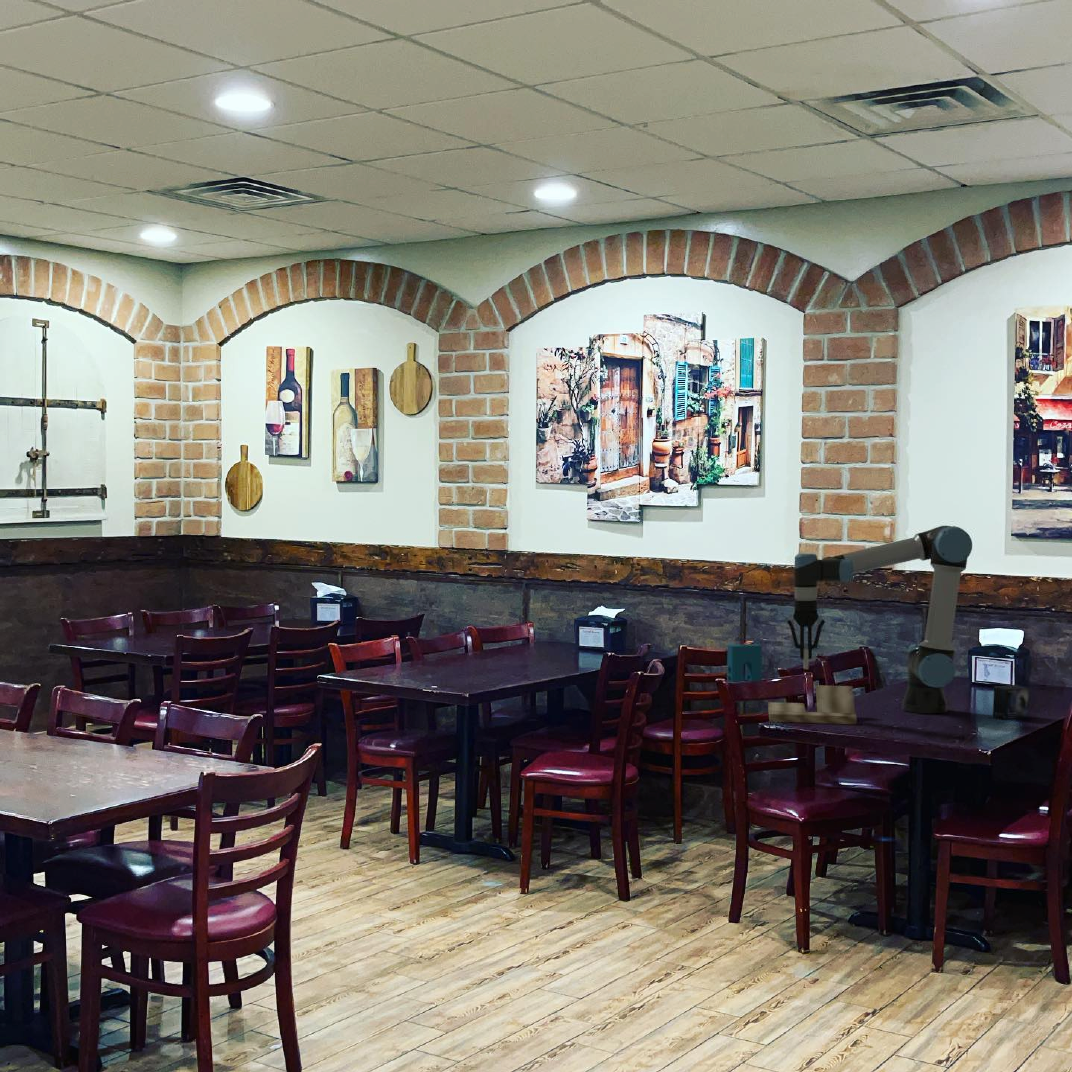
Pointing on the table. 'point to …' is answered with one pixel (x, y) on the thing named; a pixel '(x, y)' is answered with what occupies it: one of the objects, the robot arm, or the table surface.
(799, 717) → the laid floor
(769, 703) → the plank far
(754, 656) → the block
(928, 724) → the table surface
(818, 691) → the plank near
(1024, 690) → the small box
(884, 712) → the table surface
